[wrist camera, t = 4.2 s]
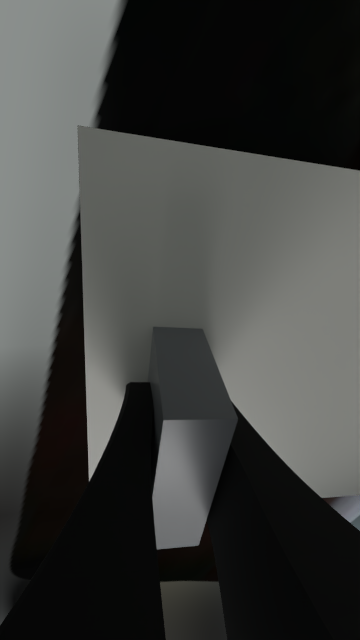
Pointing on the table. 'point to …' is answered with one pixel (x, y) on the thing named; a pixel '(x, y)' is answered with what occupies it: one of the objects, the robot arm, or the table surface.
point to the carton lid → (220, 312)
